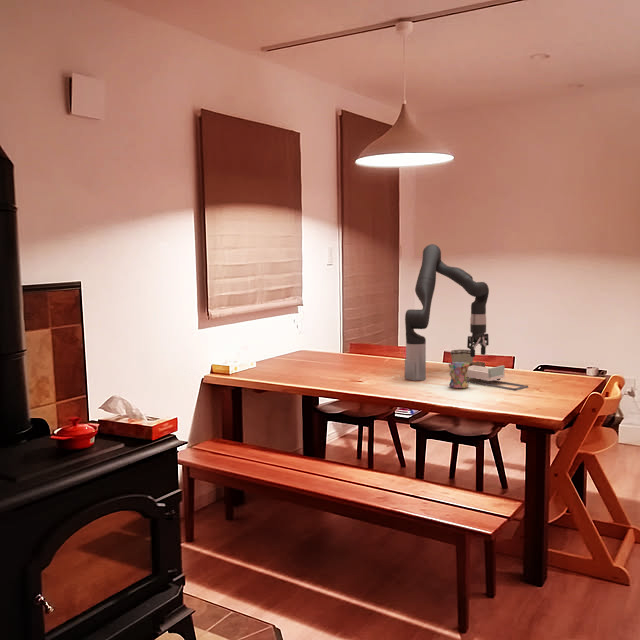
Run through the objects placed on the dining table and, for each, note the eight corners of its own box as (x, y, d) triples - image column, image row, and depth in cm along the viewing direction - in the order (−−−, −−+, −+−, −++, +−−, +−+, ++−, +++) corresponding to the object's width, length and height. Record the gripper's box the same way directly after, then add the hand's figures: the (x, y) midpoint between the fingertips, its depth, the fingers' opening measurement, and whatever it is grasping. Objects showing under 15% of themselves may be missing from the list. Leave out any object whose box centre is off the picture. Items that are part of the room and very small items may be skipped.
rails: (515, 390, 277) (515, 388, 277) (455, 380, 302) (455, 378, 302) (528, 387, 284) (528, 385, 284) (468, 377, 308) (468, 375, 308)
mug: (455, 384, 293) (455, 361, 292) (473, 386, 286) (473, 363, 285) (440, 388, 284) (440, 365, 283) (459, 391, 278) (459, 367, 276)
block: (479, 375, 312) (479, 363, 311) (471, 374, 315) (471, 362, 314) (485, 374, 314) (485, 362, 314) (477, 373, 318) (477, 361, 317)
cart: (490, 384, 286) (490, 368, 286) (459, 378, 299) (459, 364, 299) (504, 380, 294) (504, 365, 293) (473, 375, 306) (473, 361, 306)
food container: (473, 368, 331) (473, 349, 330) (474, 370, 325) (474, 351, 324) (448, 368, 332) (448, 349, 331) (450, 370, 326) (450, 351, 325)
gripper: (480, 321, 320) (480, 353, 322) (463, 323, 311) (462, 356, 313) (493, 322, 314) (492, 354, 316) (476, 325, 305) (475, 358, 307)
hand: (477, 355), depth 314 cm, fingers open, 8 cm apart
